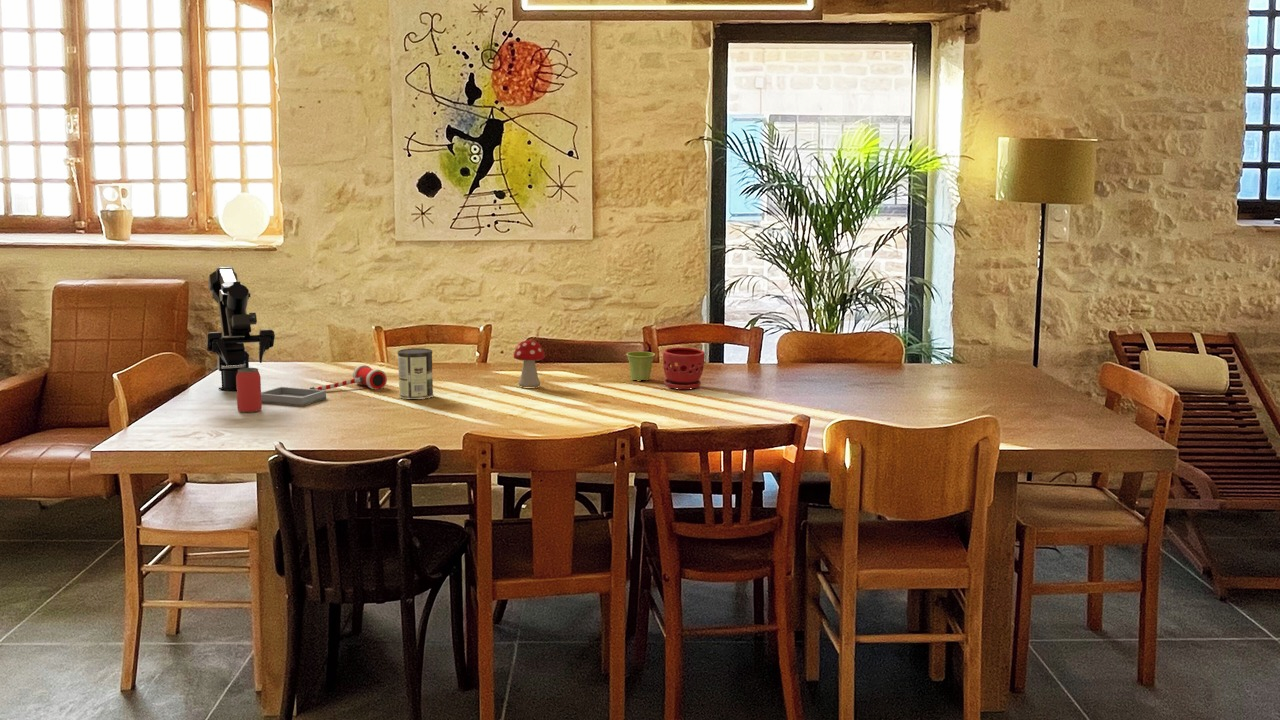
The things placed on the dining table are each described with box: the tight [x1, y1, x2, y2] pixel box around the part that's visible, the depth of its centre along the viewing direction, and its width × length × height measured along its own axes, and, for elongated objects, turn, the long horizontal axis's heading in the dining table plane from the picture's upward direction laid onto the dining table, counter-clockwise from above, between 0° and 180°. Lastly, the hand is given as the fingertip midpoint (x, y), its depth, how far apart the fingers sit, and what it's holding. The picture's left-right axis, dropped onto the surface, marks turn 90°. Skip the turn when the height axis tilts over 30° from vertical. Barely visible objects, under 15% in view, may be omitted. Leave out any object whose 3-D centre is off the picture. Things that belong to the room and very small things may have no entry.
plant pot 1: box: [625, 351, 656, 382], centre depth 416 cm, size 9×9×9 cm
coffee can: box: [397, 347, 434, 400], centre depth 385 cm, size 10×10×14 cm
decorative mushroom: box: [513, 339, 546, 387], centre depth 401 cm, size 10×9×15 cm
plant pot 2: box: [662, 346, 706, 389], centre depth 403 cm, size 13×13×12 cm
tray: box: [261, 386, 327, 407], centre depth 379 cm, size 16×12×2 cm
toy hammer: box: [309, 364, 388, 391], centre depth 397 cm, size 23×12×6 cm, turn 127°
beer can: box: [236, 367, 263, 414], centre depth 363 cm, size 7×7×12 cm
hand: (244, 363), depth 369 cm, fingers open, 9 cm apart
